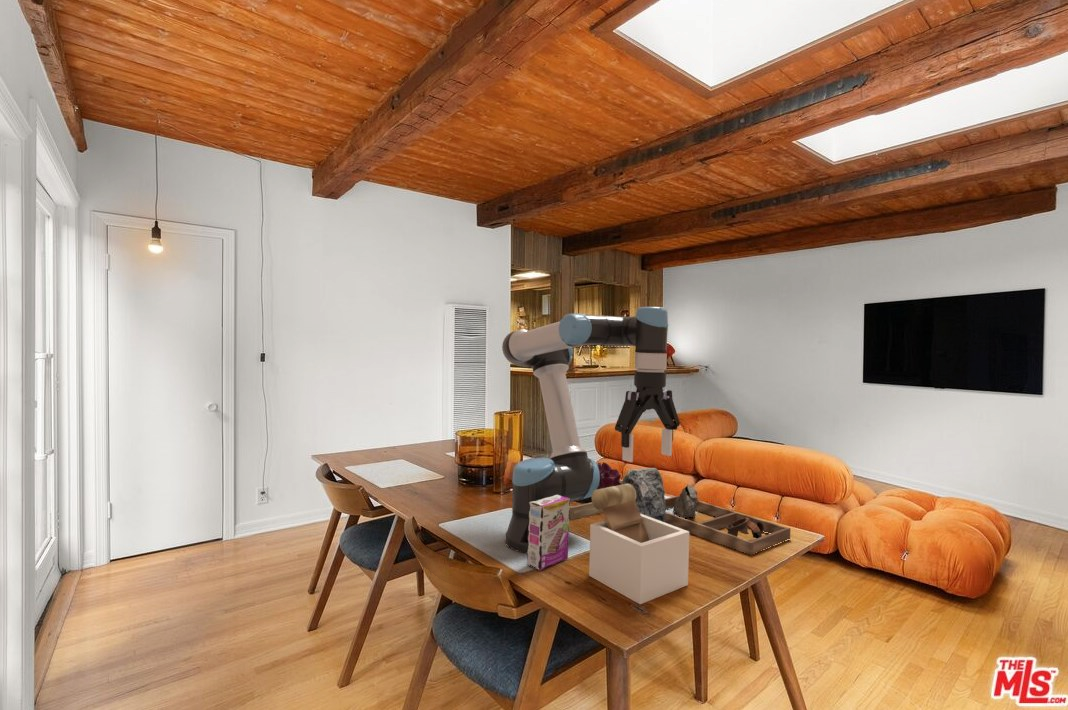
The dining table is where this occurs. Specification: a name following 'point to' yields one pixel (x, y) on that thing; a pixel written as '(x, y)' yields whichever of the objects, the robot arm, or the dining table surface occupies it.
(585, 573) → the dining table surface
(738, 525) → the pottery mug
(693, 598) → the dining table surface
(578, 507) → the florist crate
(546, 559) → the candy bar box
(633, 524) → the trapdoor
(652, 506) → the stone block
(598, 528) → the white open box
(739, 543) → the walnut tray
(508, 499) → the dining table surface
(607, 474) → the flower arrangement
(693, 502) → the concrete fragment
